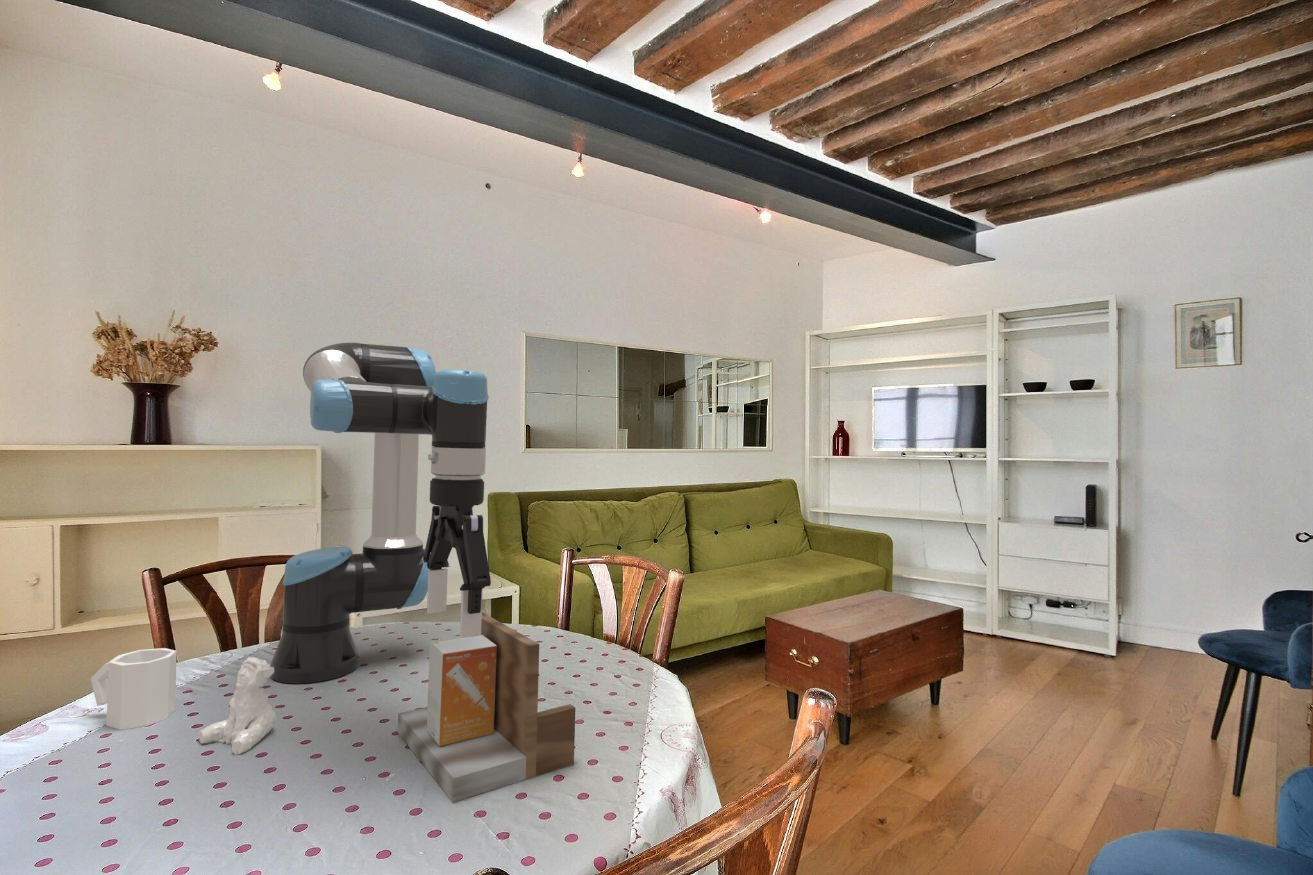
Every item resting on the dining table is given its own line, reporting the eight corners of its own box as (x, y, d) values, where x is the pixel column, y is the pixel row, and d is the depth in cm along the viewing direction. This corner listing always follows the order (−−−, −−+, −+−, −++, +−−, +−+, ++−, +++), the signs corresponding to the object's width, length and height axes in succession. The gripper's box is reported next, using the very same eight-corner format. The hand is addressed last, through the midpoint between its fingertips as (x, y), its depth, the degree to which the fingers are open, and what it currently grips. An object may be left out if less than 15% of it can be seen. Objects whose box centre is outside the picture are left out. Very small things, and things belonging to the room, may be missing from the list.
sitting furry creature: (193, 743, 96) (196, 662, 96) (249, 721, 104) (252, 645, 104) (238, 756, 92) (241, 671, 93) (292, 732, 100) (294, 654, 101)
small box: (438, 748, 90) (441, 653, 90) (425, 730, 95) (428, 641, 95) (495, 734, 95) (497, 644, 95) (479, 718, 100) (482, 633, 100)
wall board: (397, 732, 101) (401, 616, 101) (503, 707, 112) (506, 602, 112) (452, 802, 82) (457, 658, 82) (573, 764, 93) (577, 637, 93)
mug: (186, 707, 108) (188, 648, 108) (145, 730, 100) (147, 666, 100) (114, 705, 108) (116, 646, 108) (67, 728, 100) (69, 664, 100)
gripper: (405, 471, 102) (400, 606, 102) (464, 484, 82) (458, 652, 82) (452, 471, 107) (447, 600, 107) (519, 483, 87) (513, 642, 87)
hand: (452, 623), depth 94 cm, fingers open, 13 cm apart
